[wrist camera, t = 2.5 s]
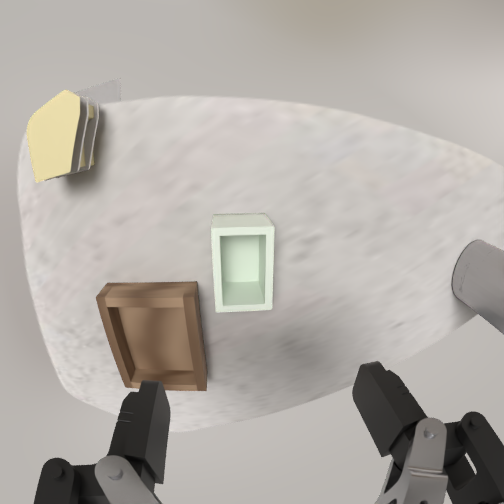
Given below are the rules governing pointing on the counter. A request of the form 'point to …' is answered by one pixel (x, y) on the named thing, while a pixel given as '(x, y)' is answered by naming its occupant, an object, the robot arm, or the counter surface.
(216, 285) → the box
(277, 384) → the counter surface
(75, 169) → the stacked layers on plate
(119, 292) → the big crate
